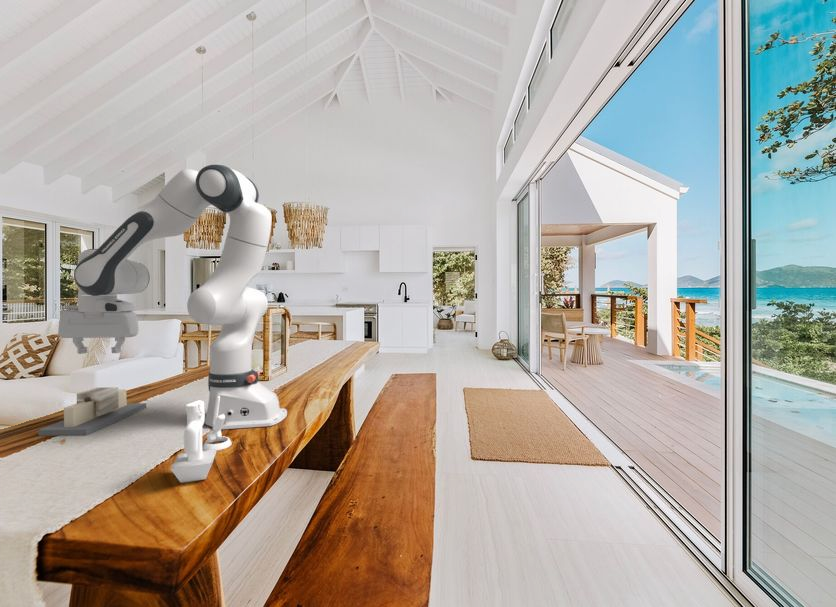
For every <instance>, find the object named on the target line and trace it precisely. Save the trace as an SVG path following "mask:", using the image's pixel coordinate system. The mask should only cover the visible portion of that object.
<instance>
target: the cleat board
mask: <svg viewBox="0 0 836 607" xmlns="http://www.w3.org/2000/svg"><path fill="white" fill-rule="evenodd" d="M127 402H128V401H127V389H119V388H118V403H119V408H117V409H115V410H113V411H110V412H108V413H105V414H103V415H96V401H89V402H85V401H84V402H81V403H78V404H77V403H76V404H72V405H70V406H67V407H63V420H61V421H58V422H55V423H53V424H51V425H48V426H45V427H42V428H39V429H38V430H37V431H38V433H37V435H38V436H39V437H40V436H43V437H45V436H52V437H53V436H88V435H90V434H92V433H94V432H96V431H99V430H101V429H103V428H106V427H108V426H110V425H111V424H114V423H117V422H118V420H119V421H120V419H121V420H123V419H125V418H127V416H128V417H129V415H130V416H132V415H134V414H136V413H138V411H139V412H140V410H141V411H143V410H145V409H147V403H141V402H139V403H130V402H129V403H127ZM144 408H145V409H144ZM142 409H143V410H142ZM135 412H136V413H135ZM133 413H134V414H133ZM131 414H132V415H131ZM122 418H123V419H122ZM116 421H117V422H116Z"/></svg>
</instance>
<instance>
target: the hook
mask: <svg viewBox="0 0 836 607" xmlns="http://www.w3.org/2000/svg"><path fill="white" fill-rule="evenodd" d="M224 419H225V415H224V414H222V415H220V416H218V417H217V419H216V421H215V424H214V427H213V428H212V430H209V431H208V432H207V434H206V439H207V440H204V443H203V444H202V451H207V450H215V449H217V451H221V450H224V449H227V448H230V446H232V441H231V439H230V437H228V436H222V429H221V428H222V425H223V422H224ZM219 442H220V443H219Z"/></svg>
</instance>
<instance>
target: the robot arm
mask: <svg viewBox="0 0 836 607" xmlns="http://www.w3.org/2000/svg"><path fill="white" fill-rule="evenodd" d="M259 196H260V195H259V190H258V187H257V185H256V184H255V183H254V182H253V181H252V180H251V179H250V178H249V177H247V176H245V175H244V174H243V173H241V172H240V171H238V170H236V169H233V168H230V167H228V166H225V165H222V164H209V165H206V166H203V167H202V168H201V169H199V171H198V170H196V169H191V168H184V169H182V170H180V171H179V172H177V174H175V175H173V177H172V178H171V179H170V180H169V181H167V183H166V184H165V185H163V188H162V189H161V190H160V191H159V193H158V194H157V195H156V196H155V197H154V199H153V200H152V201H151V202H150V203H148V204H147V205H146V206H145V207H144V208H142V209H141V210H139V211H137V212H136V213H134V214H132V215H131V216H130V217H128V218H127V219H126V220H124V221H123V223H122V224H121V225H119V227H118V228H117V229H116V230H115V231H114V232H113V233H112V234H111V235H110V236H109V237H108V238H107V239H105V241H104V242H102V244H101V245H100V246H99V247H98V248H89V249H86V250H83V251H81V252H80V254H79V256H78V259H77V264H76V267H75V268H74V271H73V279H74V281H75V284H76V285H77V287H78V288H79V289H78V293H77V305H67V306H66V305H65V307H63V308H62V309H61V310H60V311H59V312H60V316H59V321H58V330H57V331H58V332H57V333H58V336H59V337H60V338H61V339H72V343H73V344H74V345H75V348H77V349H76V350H77V354H80V355H81V354H82V355H84V354H87V353H88V352H89V351H88V346H85V345H84V343H83V341H84V339H87V338H88V339H91V338H92V339H98V338H100V339H101V338H103V339H105V338H106V339H107V338H109V339H110V338H113V339H114V342H116V343H115V345H114V346H112V347H111V354H120V353H121V352H122V347H123V344H124V343H125V341H126V338H133V337H136V336H137V335H138V333H139V320H138V316H137V314H136V313H135V312H134V311H136V308H137V307H136V304H135V303H132V302H128V301H126V300H123V299H119V298H118V295H132V294H133V295H134V294H138V293H142V292H144V291H145V290H146V288H147V287H148V286H149V284H150V272H149V269H148V268H147V267H146V266H145V265H144V264H143V263H141V262H138V261H134V260H131V259H128V258H129V257H130V256H131V255H132V254H134V253H135V251H137V249H138V248H139V247H140V246H142V245H143V244H145V243H147V242H149V241H153V240H156V239H163V238H171V237H177V236H181V235H184V234H185V233H186V232H187V231H189V230H190V229H191V228H192V227H193V226H194V225H195V223H196V222H197V221H198V219H199V218H200V217H201V215H202V214H203V212H204V211H205V210H206V209H207V208H208V207H209V206H213V207H215V208H216V209H217V210H219V211H221V212H222V213H227V214H228V216H229V225H228V229H227V232H226V233H227V234H226V236H225V237H226V238H225V241H224V245H223V248H222V251H221V255H220V258H219V261H218V263H217V265H216V267H215V269H214V270H213V272H212V273H211V275H209V277H208V278H207V280H206V281H205V282H204V283H203V284H202V285H201V286H200V287H198V288H196V289H195V290H194V291H192V292H191V293H190V295H189V297H188V299H187V303H186V306H187V313H188V315H189V316H190V319H192V320H193V322H195V323H196V324H197V323H198V324H200V325H201V324H202V325H205V326H206V325H207V326H215V327H216V326H222V327H221V330H220V332H219V335H218V336H217V337H216V338H215V340H213V341H212V343H211V344H210V347H209V372H208V377H207V380H208V381H207V382H208V384H207V385H208V391H209V396H208V405H207V409H206V413H205V420H204V424H205V425H206V426H209V427H211V428H212V429H213V427H214V424H215V421H216V419H217V417H218V416H220V415H222V414H224V415H225V419H224V422H223V425H222V428H221V430H230V429H231V430H232V429H244V428H245V429H248V428H260V427H271V426H274V425H277V424H279V423H280V422H282V421H284V420H285V419H286V417H288V416H287V415H288V409H286V408H285V407H283V408H281V407H280V402H279V397H278V395H277V394H276V393H275V392H274V391H273V390H271V389H269V388H268V387H266V386H265V385H263V383H261V382H259V376H261V372H260V371H258V372H257V371H256V370H254V369H253V365H252V364H253V363H252V362H253V359H252V358H253V355H252V354H253V343H254V337H255V334H256V330H257V327H258V326H259V323H260V320H261V319H262V318H263V317H264V315H266V313H267V311H268V307H269V303H268V298H267V295H266V294H265V293H264V292H263V291H261V290H259V289H257V288H253V287H250V286H248V285H249V284H250V283H251V281H252V280H253V279H254V278H256V277H257V276H258V275H259V274H260V273H261V272H262V268H263V266H264V262H265V257H266V254H267V251H268V246H269V243H270V238H271V231H272V219H273V217H272V212H270V210H269V209H268V208H267V207H266V206H265V205H263V204H261V203H259Z"/></svg>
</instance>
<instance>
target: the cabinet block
mask: <svg viewBox="0 0 836 607" xmlns="http://www.w3.org/2000/svg"><path fill="white" fill-rule="evenodd" d="M118 390H119V387H113V386H111V387H94V388H90V389H87V390H84V391H81V392H78V393H76V404H78V403H81V402H84V401H85V402H89V401H96V415H103V414H105V413H108V412H110V411H113V410H115V409H117V408H119V403H118Z"/></svg>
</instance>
